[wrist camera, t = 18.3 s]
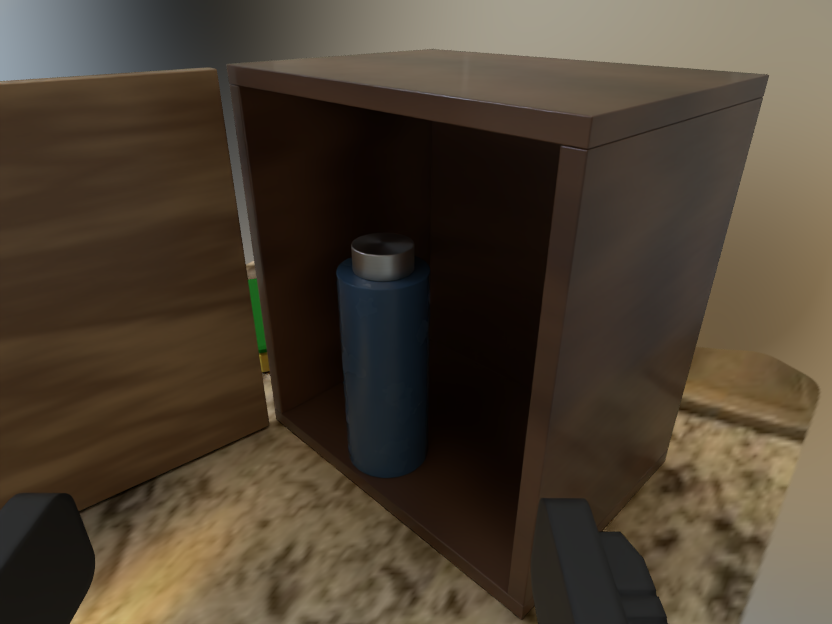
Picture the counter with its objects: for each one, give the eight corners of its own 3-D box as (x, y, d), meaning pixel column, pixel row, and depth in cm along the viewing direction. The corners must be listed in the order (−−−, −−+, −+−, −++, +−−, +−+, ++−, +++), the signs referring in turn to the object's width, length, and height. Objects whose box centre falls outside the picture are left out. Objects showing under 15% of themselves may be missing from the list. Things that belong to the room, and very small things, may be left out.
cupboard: (521, 620, 29) (592, 116, 17) (276, 419, 42) (225, 64, 31) (664, 461, 39) (769, 74, 27) (428, 339, 52) (432, 48, 41)
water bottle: (444, 450, 38) (451, 243, 31) (385, 491, 35) (378, 271, 28) (390, 414, 41) (386, 220, 35) (332, 449, 38) (314, 242, 31)
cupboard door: (-129, 522, 34) (-399, 91, 23) (229, 382, 46) (171, 59, 35) (-128, 605, 29) (-466, 114, 18) (270, 425, 42) (217, 68, 30)
